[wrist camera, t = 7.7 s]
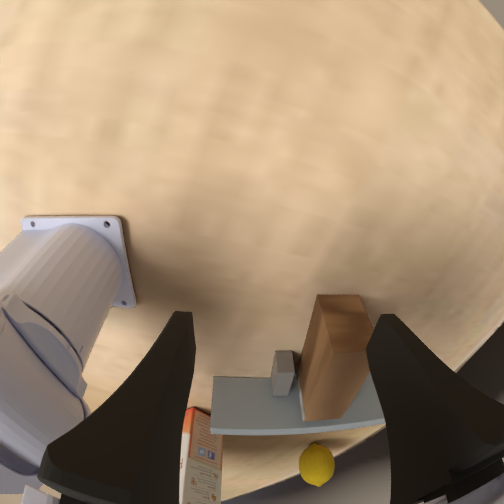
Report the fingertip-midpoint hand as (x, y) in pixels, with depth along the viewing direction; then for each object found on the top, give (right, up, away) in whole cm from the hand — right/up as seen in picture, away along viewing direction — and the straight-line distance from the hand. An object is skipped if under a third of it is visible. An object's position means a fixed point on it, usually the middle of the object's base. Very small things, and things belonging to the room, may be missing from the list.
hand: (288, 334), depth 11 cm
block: (+5, -5, +15) cm, 16 cm away
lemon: (+9, -27, +29) cm, 41 cm away
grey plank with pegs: (+5, -8, +17) cm, 19 cm away
